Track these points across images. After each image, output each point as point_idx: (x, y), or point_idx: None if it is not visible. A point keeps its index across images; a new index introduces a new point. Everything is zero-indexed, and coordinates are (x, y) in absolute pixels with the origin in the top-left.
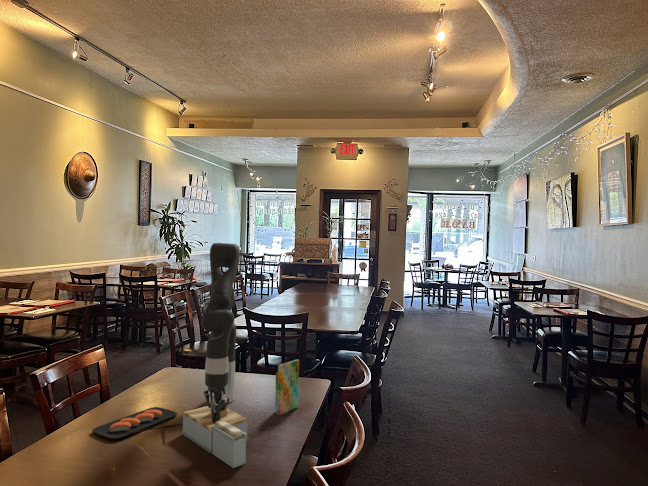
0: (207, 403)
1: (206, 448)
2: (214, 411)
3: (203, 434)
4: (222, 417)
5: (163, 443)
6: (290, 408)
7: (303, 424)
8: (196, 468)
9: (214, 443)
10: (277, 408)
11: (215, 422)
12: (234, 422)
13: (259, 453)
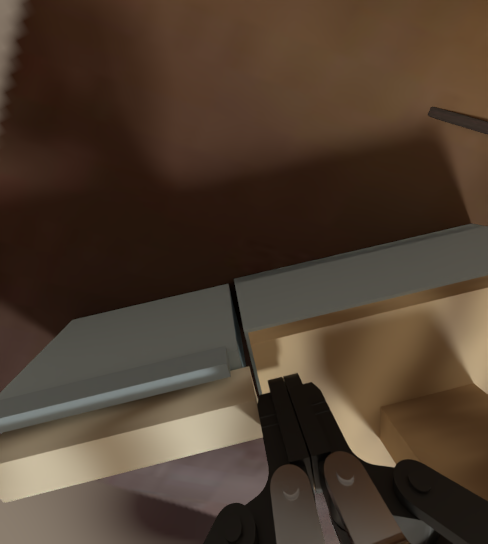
0: (473, 500)
1: (271, 273)
2: (280, 484)
3: (318, 289)
4: (372, 419)
5: (449, 111)
6: None
7: None
8: (119, 187)
9: (215, 310)
10: None
11: (250, 395)
12: None
13: None
